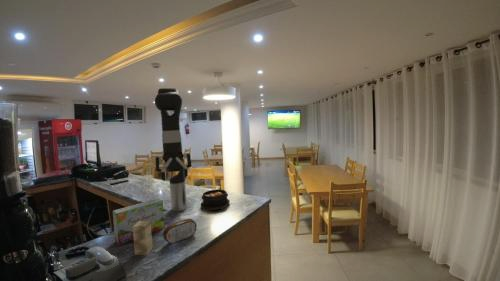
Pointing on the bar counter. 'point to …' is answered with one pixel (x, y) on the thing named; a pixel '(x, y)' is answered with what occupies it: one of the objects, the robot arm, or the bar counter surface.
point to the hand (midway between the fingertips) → (174, 179)
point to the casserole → (215, 199)
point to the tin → (179, 231)
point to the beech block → (142, 237)
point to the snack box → (137, 219)
